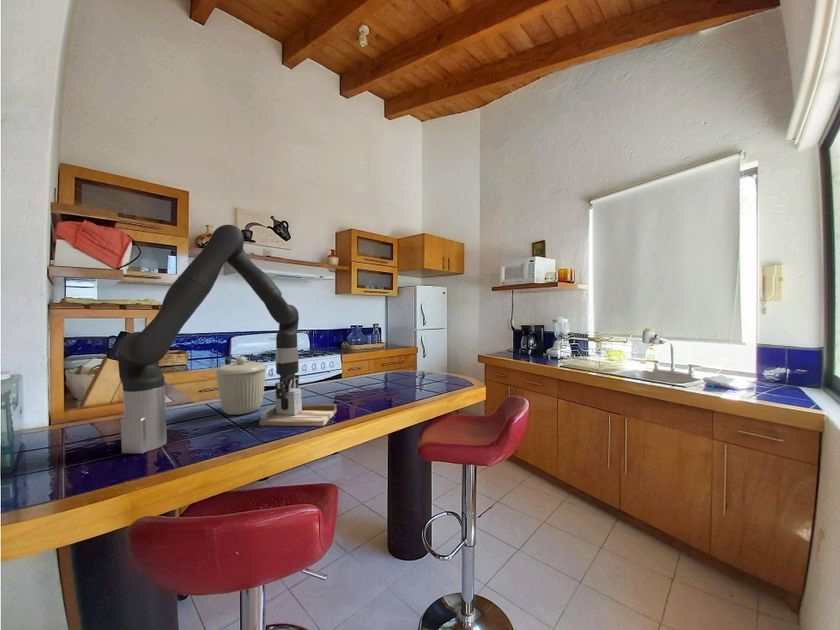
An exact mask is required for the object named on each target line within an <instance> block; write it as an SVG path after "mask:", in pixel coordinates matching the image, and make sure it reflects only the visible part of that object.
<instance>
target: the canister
mask: <svg viewBox="0 0 840 630" xmlns="http://www.w3.org/2000/svg"><path fill="white" fill-rule="evenodd" d="M267 369H268V366H267V365H266V364H264V363H262V362H258V361H257V362H256V361H247V358H246V357H245V356H238V357H237V358H236V359H235V363H229V364H223V365H221V366H219V367H218V368H216V369H214V371H213V373H214V374H215V376H216V383H217V390H218V395H219V400H220V402H219V403H220V405H221V406H220V407H221V409H222V411H223V413H225V414H227V415H229V416H232V415H233V416H239V415H247V414H251V413H254V412H255V411H258V410H260V408H261V407H262V405H263V403H264V402H263V401H264V391H265V383H266V382H265V381H266V370H267Z"/></svg>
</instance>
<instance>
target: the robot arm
mask: <svg viewBox="0 0 840 630" xmlns="http://www.w3.org/2000/svg"><path fill="white" fill-rule="evenodd" d="M244 244H245V237H244V234H243V232H242V231H241V229H240V228H239V227H237V226H236V225H233V224H223V225H220V226H218V227H217V228H216V229H215V230H213V233H212V234H211V236H210V237H209V239H208V241H207V242H206V244H205V245H204V247H203V249H202V250H201V251H200V253H199V254H198V255H197V256H196V257H195V258H194V259H192V261H191V262H190V263H189V265H188V266H187V267H185V269H184V270H183V271H182V273H181V274H180V275H179V276H178V277H177V278H176V279H175V281H174V282H173V283H172V284H171V285H170V287H169V288H168V289H167V292H166V294H165V296H164V297H163V301H162V304H161V306H160V309H159V310H158V312H157V314H156V315H155V317H154V318H153V319H152V320H151V321H150V322H149V323H148V324H147V326H146V327H144V329H142V331H134V332H130V333H129V334H127V335H125V336H124V337H122V338H121V340H120V341H119V343H118V347H117V363H118V373H119V374H118V375H119V380H120V382H121V387H122V399H123V401H122V403H123V404H122V405H123V417H122V418H121V419H120V439H121V440H120V442H121V443H120V444H121V454H144V453H146V452H149V451H150V452H151V451H153V450H156V449H160V448H161V447H163V446H165V445H166V444H167V442H168V439H167V437H168V436H167V434H168V433H167V414H166V413H167V412H166V388H165V387H166V386H165V384H166V383H165V376H164V374H163V372H162V371H161V369H160V363H159V361H161V360H162V359H164V358H165V356H166V355H167V353H168V352H169V350H170V348H171V347H172V345H173V343H174V341H175V340H176V338H177V337H178V335H179V333H180V331H182V328H183V326H185V324H186V323H187V322H188V321H189V320H190V318H191V317H192V316H193V314H194V313H195V311H196V310H197V309H198V308H199V307H200V306H201V304H202V303H203V302H204V300H205V299H206V298H207V296H208V295H209V293H210V292H211V291H212V289H213V287H214V285H215V284H216V281H217V279H218V277H219V275H220V272H221V271H222V268H223V266H224V265H225V263H227V264H228V265H229V266H231V267H232V268H233V269H234V270H235V271H236V272H237V273H238V274H239V275H240V276H241V277H242V279H243V280H244V281H245V282H246V284H248V285H249V287H250V288H251V289H252V290H253V292H254V293H255V294H256V295H257V297H258V298H259V300H261V302H262V303H263V304H264V306H265V307H266V309H267V311H268V313H269V315H270V316H271V317H272V319H274V321H275V322H276V323H278V332H277V333H276V337H275V342H276V343H275V345H276V346H275V347H276V349H275V373H276V374H277V375H279V382H275V384H274V386H275V391H276V394H277V399H281V409H282V410H287V409H288V392H290V389H291V388H299V384H300V383H299V381H300V375H299V374H298V373H299V371H300V368H299V350H298V329H299V319H300V317H299V311H298V309H297V308H296V306H294V305H292V304H288V302H287V301H286V300H285V299H284V297H283V296H282V295H283V293H282V291H281V290H280V288H279V287H278V286H277V285H276V284H275V282H274V281H273V280H272V278H271V277H270V276H269V275H267V274H266V273H265V272H264V271H263V270H262V269H260V268H259V267H258V266H257V265H255V264H254V263H253V261H251V259H250V258H249V256H248V254H247V253H246V251H245V249H244ZM285 389H287V390H285ZM285 392H286V395H285Z"/></svg>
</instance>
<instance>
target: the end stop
mask: <svg viewBox="0 0 840 630" xmlns="http://www.w3.org/2000/svg"><path fill="white" fill-rule="evenodd" d="M275 414H276V403H274V404H272V405H270V407H268V408H266V409H264V410H263V411H261V412H260V420H267V419H269V418H270V417H272V416H273V415H275Z"/></svg>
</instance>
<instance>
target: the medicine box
mask: <svg viewBox="0 0 840 630" xmlns="http://www.w3.org/2000/svg"><path fill="white" fill-rule="evenodd" d="M285 390H287V389H285ZM274 394H275V395H274V396H275V400H274V402H275V404H276V414H284V415H297V414H298V413H300V412H302V404H303V403H302V389H301V388H299V387H298V388H291V389H290V392H288V409H287V410H282V409H281V399H277V394H276V390H274ZM285 395H286V392H285Z"/></svg>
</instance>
